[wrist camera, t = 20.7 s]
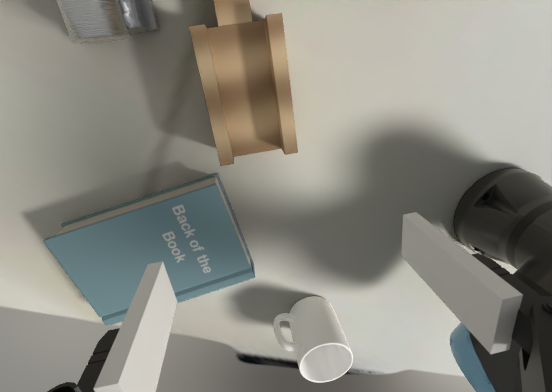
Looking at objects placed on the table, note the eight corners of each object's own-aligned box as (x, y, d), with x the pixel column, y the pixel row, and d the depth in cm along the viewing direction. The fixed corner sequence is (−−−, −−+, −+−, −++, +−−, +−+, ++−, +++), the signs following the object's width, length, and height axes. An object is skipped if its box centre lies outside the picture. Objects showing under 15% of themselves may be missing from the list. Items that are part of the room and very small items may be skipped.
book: (217, 172, 42) (215, 184, 37) (253, 261, 48) (255, 281, 44) (63, 222, 42) (43, 241, 37) (120, 305, 48) (108, 329, 44)
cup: (320, 333, 56) (338, 385, 47) (261, 321, 53) (267, 375, 44) (340, 300, 54) (362, 348, 44) (279, 285, 50) (289, 334, 41)
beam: (287, 139, 41) (297, 152, 35) (222, 150, 40) (220, 166, 34) (265, -39, 33) (272, -65, 26) (183, -28, 32) (170, -52, 26)
